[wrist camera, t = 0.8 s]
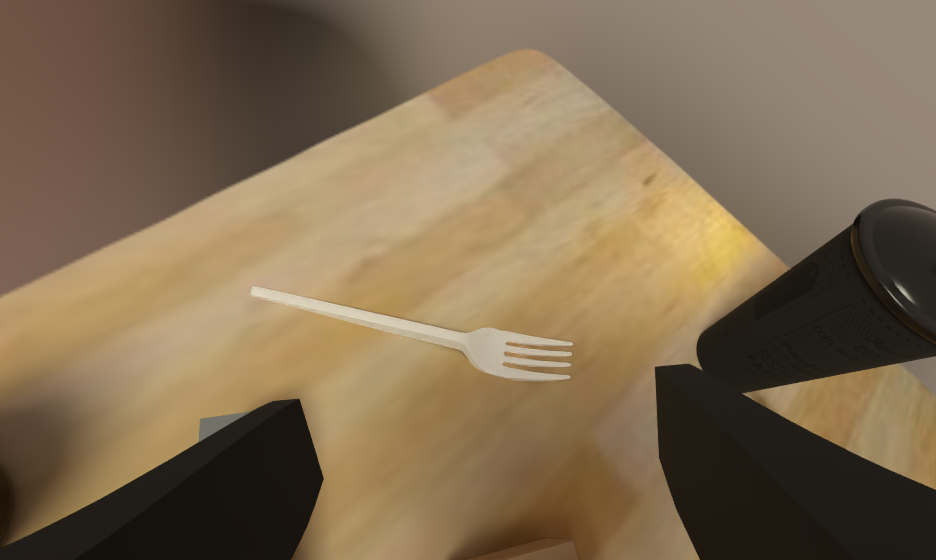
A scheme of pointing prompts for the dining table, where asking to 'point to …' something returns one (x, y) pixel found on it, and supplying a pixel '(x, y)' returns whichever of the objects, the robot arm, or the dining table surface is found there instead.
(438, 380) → the dining table surface
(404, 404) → the dining table surface
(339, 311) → the fork
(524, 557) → the walnut block
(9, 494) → the supplement bottle
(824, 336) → the drinking cup
